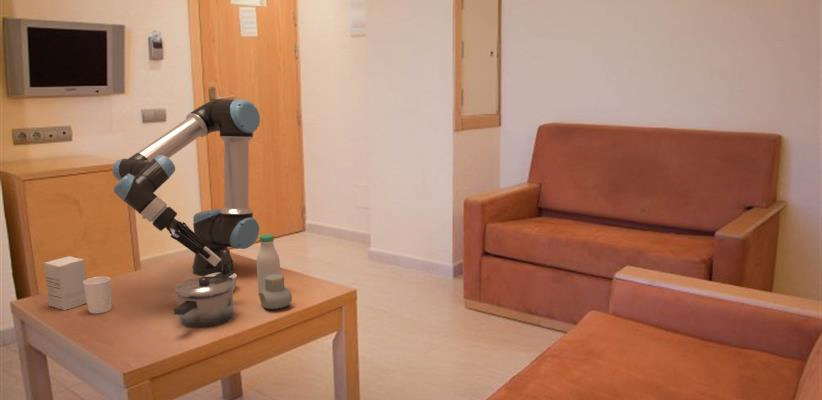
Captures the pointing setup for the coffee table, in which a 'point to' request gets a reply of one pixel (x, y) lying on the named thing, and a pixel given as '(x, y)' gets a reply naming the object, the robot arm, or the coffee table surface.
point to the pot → (205, 310)
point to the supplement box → (65, 282)
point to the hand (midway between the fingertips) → (217, 262)
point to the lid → (209, 281)
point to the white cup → (98, 294)
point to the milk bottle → (266, 261)
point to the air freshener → (275, 293)
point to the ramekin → (229, 277)
